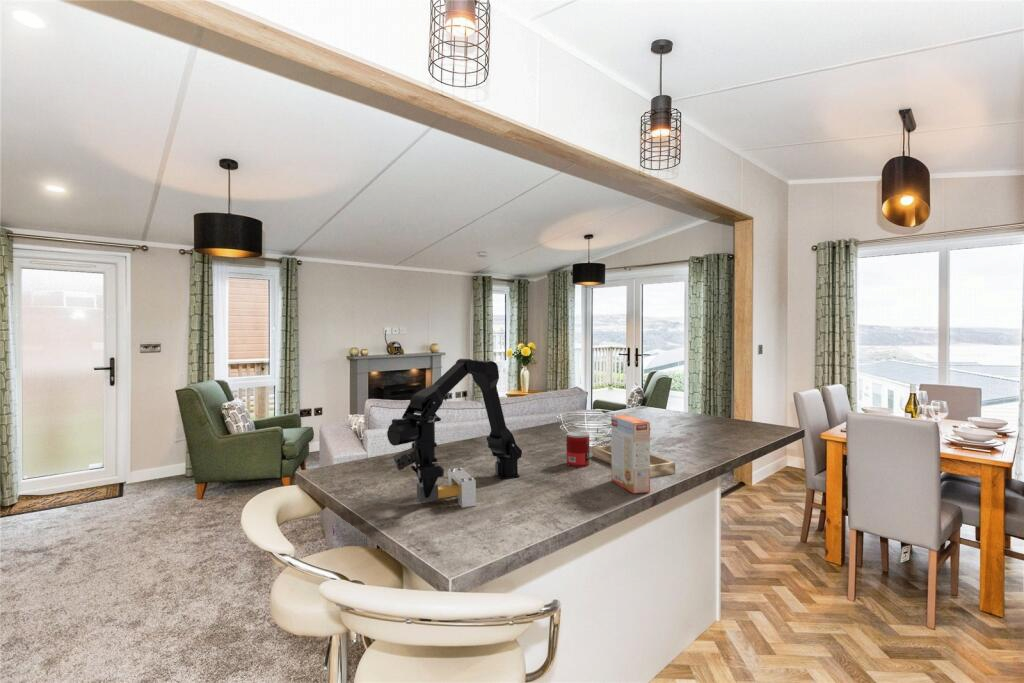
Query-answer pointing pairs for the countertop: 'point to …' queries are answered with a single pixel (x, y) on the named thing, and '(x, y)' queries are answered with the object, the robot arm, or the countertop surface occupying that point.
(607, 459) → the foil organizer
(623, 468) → the cracker box
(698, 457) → the countertop surface
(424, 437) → the robot arm
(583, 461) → the canned food
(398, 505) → the countertop surface
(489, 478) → the countertop surface
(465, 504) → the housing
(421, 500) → the plug
